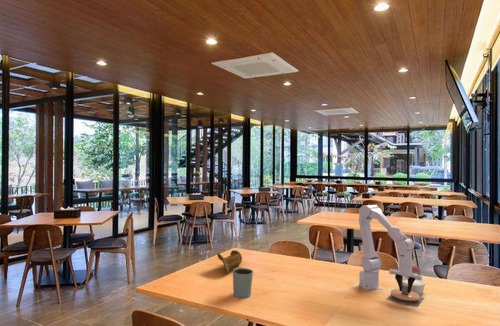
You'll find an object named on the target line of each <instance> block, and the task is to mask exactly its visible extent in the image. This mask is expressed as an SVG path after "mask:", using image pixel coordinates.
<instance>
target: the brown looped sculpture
mask: <svg viewBox="0 0 500 326" xmlns="http://www.w3.org/2000/svg"><path fill="white" fill-rule="evenodd" d="M216 254H217V258H218V259H219V261H221V262H222V264H223V266H224V269H225V272H226V273H227V275H229V274H230V270H231V269H233V268H234V267H236V266H240V265H242V261H243V257H242V254H241V253H240V251H238V250H237V249H236V250H232V251H231V252H230V254H229V255H228V256H226V257H223V256H222V255H221V253H219V252H218V253H216Z"/></svg>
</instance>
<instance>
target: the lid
mask: <svg viewBox="0 0 500 326" xmlns="http://www.w3.org/2000/svg"><path fill="white" fill-rule="evenodd" d="M390 295H392V296H394V297H396V298H399V299H402V300H409V301H415V300H419V299H420V297H421V296H420V295H421V294H417V293H415V292H413V291H411V292H410V293H408V285H402V291H400V289H399V288H397V289H396V288H395V289H391V291H390Z"/></svg>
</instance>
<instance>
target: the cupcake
mask: <svg viewBox="0 0 500 326" xmlns="http://www.w3.org/2000/svg"><path fill="white" fill-rule="evenodd" d="M412 273H415V274H418V275H421V273H422V271H421V268H419V266H417V265H415V258H412Z"/></svg>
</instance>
